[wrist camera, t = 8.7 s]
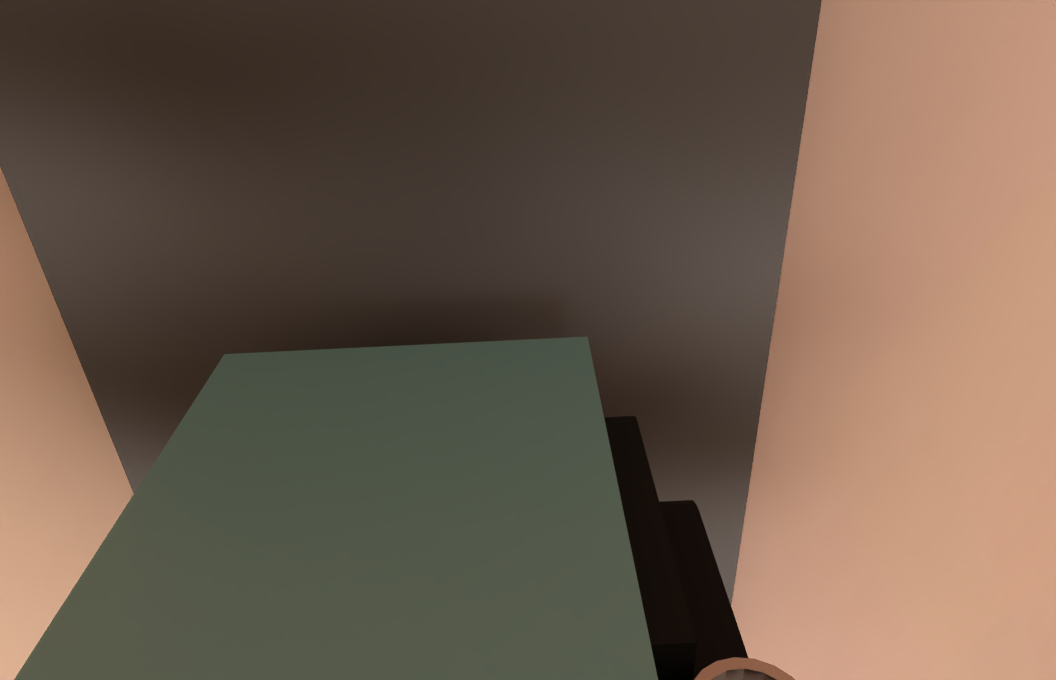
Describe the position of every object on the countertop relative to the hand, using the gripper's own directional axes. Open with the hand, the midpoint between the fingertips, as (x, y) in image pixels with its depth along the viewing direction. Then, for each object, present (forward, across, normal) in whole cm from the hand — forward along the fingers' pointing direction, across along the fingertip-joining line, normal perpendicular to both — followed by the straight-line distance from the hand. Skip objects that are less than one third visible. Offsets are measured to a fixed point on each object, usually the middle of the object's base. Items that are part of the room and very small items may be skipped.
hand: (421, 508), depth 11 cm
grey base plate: (+3, 0, 0) cm, 3 cm away
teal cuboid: (+1, 0, 0) cm, 1 cm away
